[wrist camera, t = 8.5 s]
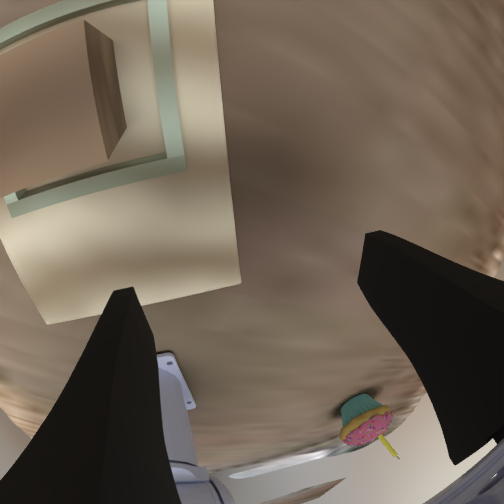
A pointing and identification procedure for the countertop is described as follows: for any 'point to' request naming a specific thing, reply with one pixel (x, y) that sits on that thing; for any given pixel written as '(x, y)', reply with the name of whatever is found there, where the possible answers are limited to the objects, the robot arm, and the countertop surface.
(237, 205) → the countertop surface
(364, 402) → the cupcake
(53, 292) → the board
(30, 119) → the walnut block
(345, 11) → the countertop surface
